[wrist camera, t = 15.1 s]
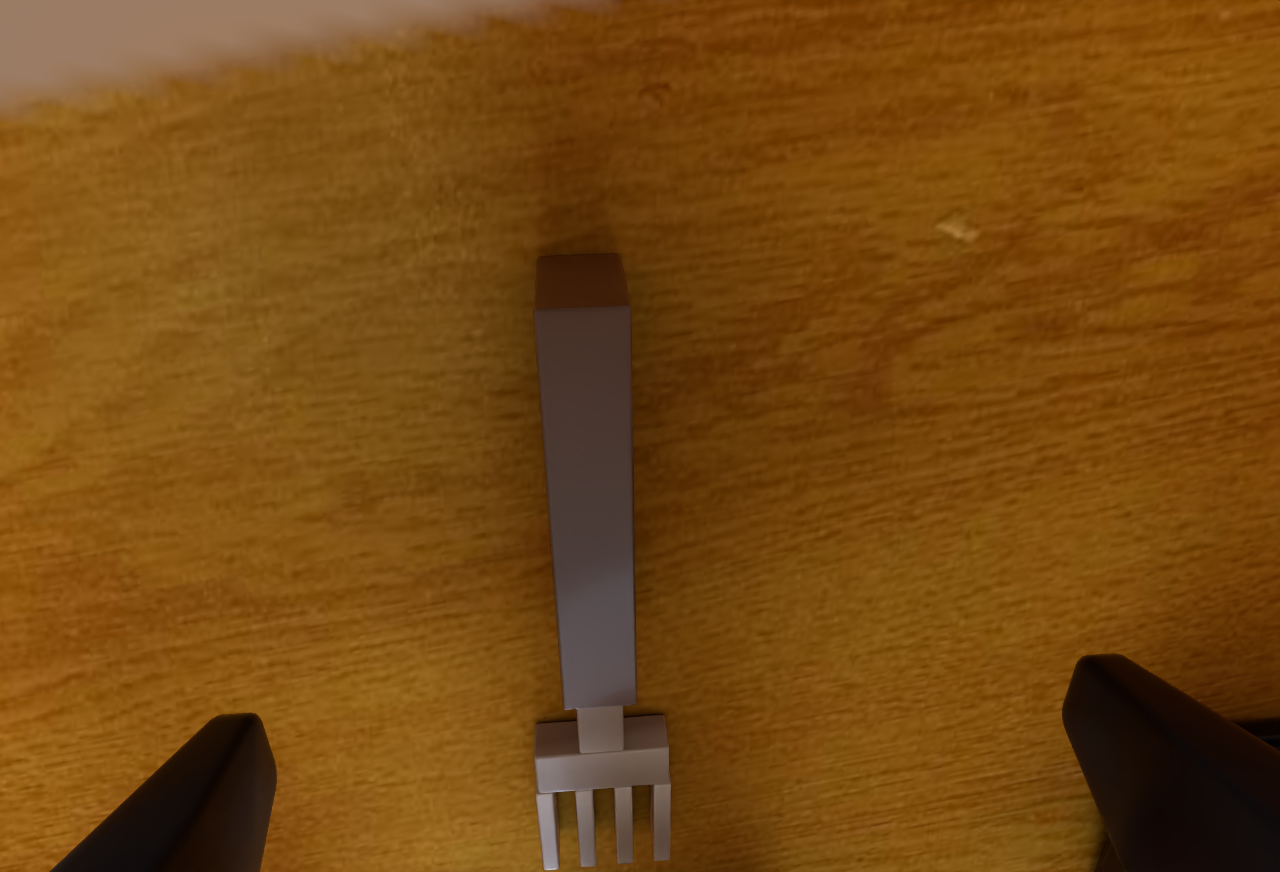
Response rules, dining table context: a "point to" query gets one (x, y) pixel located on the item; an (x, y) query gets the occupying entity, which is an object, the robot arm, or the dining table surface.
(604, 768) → the fork
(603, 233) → the dining table surface
